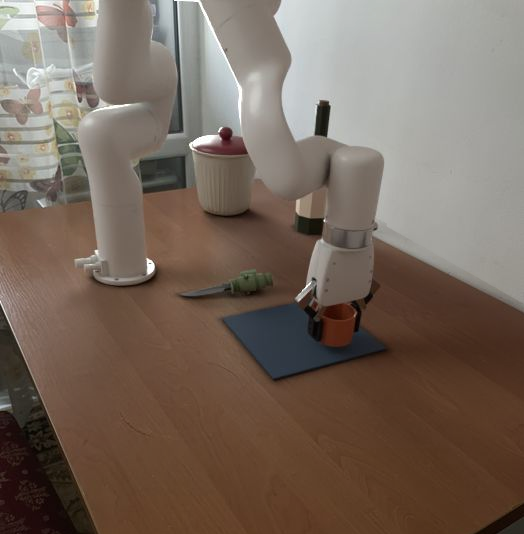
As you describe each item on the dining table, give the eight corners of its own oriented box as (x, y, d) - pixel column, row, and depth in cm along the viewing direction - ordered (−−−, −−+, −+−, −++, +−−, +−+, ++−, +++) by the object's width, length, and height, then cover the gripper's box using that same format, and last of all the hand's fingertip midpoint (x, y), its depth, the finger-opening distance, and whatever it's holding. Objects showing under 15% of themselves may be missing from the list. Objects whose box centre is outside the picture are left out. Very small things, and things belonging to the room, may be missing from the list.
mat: (273, 380, 85) (273, 378, 85) (221, 319, 99) (221, 317, 99) (386, 349, 94) (386, 347, 94) (323, 298, 108) (323, 296, 108)
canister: (246, 196, 157) (249, 118, 146) (266, 219, 143) (271, 134, 132) (184, 200, 152) (182, 119, 140) (199, 223, 138) (198, 136, 126)
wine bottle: (324, 236, 135) (340, 105, 119) (291, 232, 136) (302, 102, 120) (328, 224, 142) (343, 99, 125) (296, 220, 143) (307, 96, 126)
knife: (274, 274, 105) (269, 265, 109) (179, 291, 103) (177, 281, 107) (276, 292, 107) (270, 282, 111) (182, 309, 105) (180, 298, 109)
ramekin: (326, 350, 89) (330, 324, 87) (305, 330, 94) (308, 304, 92) (360, 341, 92) (365, 316, 89) (338, 322, 97) (341, 297, 94)
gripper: (378, 218, 89) (361, 313, 99) (285, 232, 82) (277, 332, 92) (408, 234, 84) (387, 333, 94) (311, 251, 77) (300, 355, 87)
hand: (333, 332), depth 93 cm, fingers closed on ramekin, 6 cm apart
